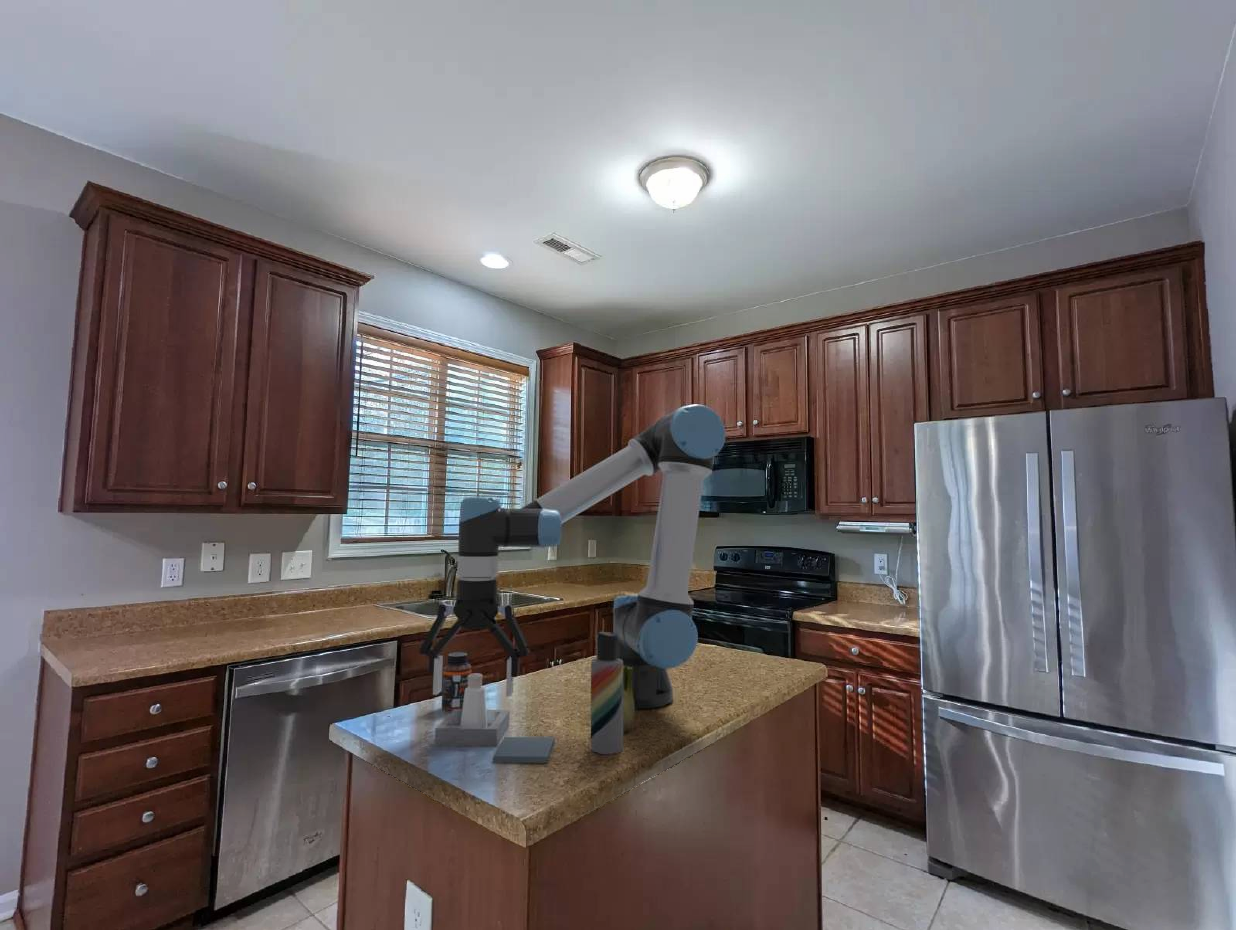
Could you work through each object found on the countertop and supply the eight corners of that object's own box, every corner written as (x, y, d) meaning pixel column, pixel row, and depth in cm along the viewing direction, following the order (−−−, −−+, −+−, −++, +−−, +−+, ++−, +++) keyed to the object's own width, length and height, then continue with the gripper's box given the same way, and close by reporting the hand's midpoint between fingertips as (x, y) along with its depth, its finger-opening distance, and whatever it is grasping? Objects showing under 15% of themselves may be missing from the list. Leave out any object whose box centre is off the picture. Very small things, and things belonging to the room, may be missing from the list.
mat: (554, 743, 108) (554, 737, 108) (547, 763, 99) (547, 756, 99) (504, 742, 108) (504, 736, 109) (493, 762, 99) (493, 756, 100)
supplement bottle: (462, 713, 125) (464, 657, 126) (436, 711, 126) (437, 656, 127) (475, 705, 131) (476, 651, 132) (449, 703, 132) (451, 650, 133)
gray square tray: (509, 725, 117) (509, 709, 118) (496, 746, 106) (496, 728, 107) (453, 725, 118) (453, 709, 118) (434, 745, 107) (435, 728, 107)
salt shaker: (462, 742, 108) (464, 679, 109) (455, 733, 113) (457, 673, 114) (492, 737, 111) (493, 676, 112) (483, 728, 116) (485, 669, 117)
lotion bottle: (589, 743, 108) (590, 629, 110) (621, 742, 109) (621, 629, 110) (591, 755, 102) (591, 635, 104) (624, 754, 103) (624, 634, 105)
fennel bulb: (602, 735, 112) (603, 669, 113) (605, 726, 117) (605, 663, 118) (634, 736, 112) (634, 670, 113) (635, 727, 117) (635, 663, 118)
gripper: (545, 577, 118) (542, 689, 116) (419, 575, 119) (414, 686, 117) (539, 581, 111) (536, 700, 109) (405, 579, 111) (399, 697, 109)
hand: (473, 693), depth 113 cm, fingers open, 13 cm apart
